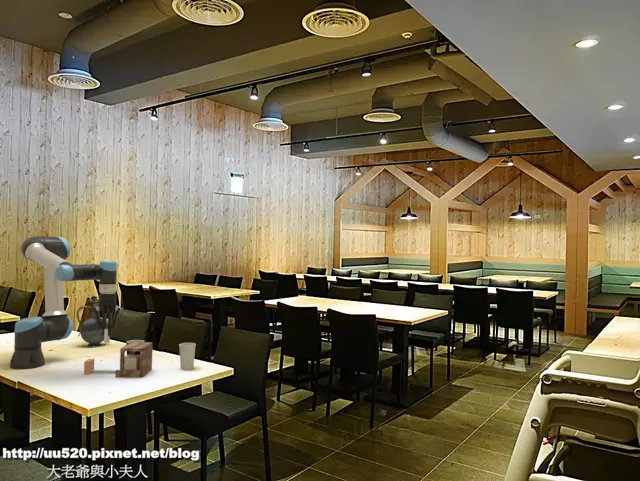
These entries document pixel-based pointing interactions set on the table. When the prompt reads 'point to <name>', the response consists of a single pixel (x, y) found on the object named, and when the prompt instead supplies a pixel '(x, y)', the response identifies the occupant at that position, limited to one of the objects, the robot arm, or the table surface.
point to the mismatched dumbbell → (130, 364)
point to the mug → (134, 351)
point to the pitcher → (91, 325)
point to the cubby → (145, 359)
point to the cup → (187, 355)
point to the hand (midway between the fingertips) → (106, 342)
